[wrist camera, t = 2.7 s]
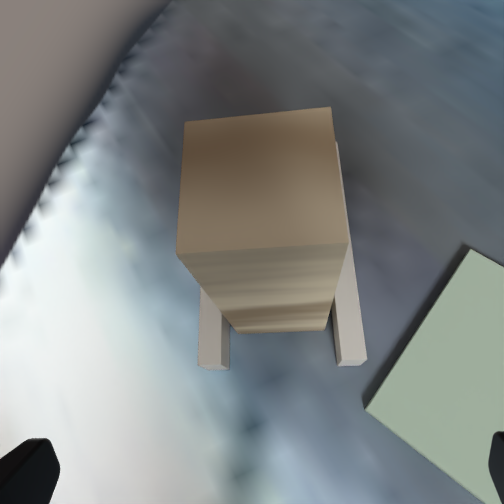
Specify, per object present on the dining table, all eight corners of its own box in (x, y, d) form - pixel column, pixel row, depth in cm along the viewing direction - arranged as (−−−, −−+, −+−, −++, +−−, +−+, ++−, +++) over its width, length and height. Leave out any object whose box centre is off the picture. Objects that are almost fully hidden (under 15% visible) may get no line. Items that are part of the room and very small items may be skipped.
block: (324, 330, 21) (349, 242, 10) (238, 334, 22) (175, 254, 11) (316, 250, 23) (330, 106, 12) (237, 255, 24) (184, 121, 13)
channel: (359, 365, 20) (367, 359, 18) (208, 370, 21) (197, 365, 19) (333, 166, 26) (337, 141, 23) (213, 176, 27) (205, 154, 24)
